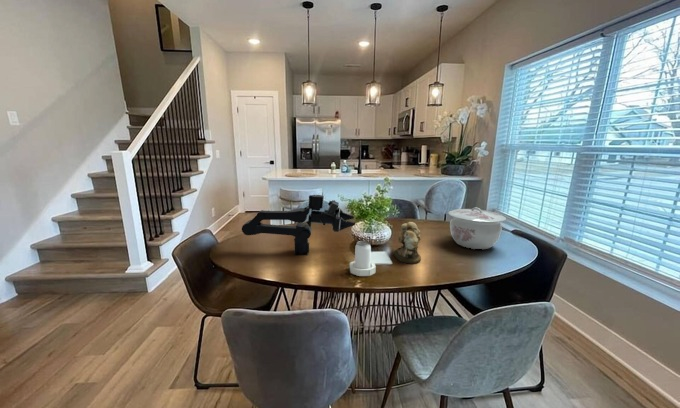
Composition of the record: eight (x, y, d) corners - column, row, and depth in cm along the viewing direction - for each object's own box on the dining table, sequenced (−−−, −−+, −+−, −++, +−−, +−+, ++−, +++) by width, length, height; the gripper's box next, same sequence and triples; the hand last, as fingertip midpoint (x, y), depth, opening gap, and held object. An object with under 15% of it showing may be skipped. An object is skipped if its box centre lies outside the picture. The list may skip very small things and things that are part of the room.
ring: (351, 276, 115) (351, 270, 114) (349, 265, 125) (349, 260, 125) (376, 275, 115) (377, 270, 115) (372, 265, 126) (372, 259, 125)
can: (365, 275, 116) (366, 247, 113) (351, 271, 119) (352, 244, 117) (372, 269, 121) (373, 242, 119) (359, 266, 125) (359, 239, 122)
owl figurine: (389, 250, 144) (391, 217, 141) (411, 250, 146) (414, 217, 142) (400, 264, 127) (402, 227, 123) (426, 264, 128) (429, 227, 125)
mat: (360, 264, 126) (360, 263, 126) (357, 253, 140) (357, 251, 140) (392, 264, 127) (392, 263, 127) (385, 252, 141) (385, 251, 140)
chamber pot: (501, 259, 134) (507, 216, 130) (440, 248, 148) (444, 209, 144) (502, 242, 158) (507, 205, 154) (450, 234, 171) (453, 200, 167)
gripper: (322, 206, 125) (357, 210, 126) (324, 196, 143) (355, 199, 143) (320, 230, 128) (354, 234, 129) (321, 217, 146) (352, 220, 147)
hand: (354, 220), depth 137 cm, fingers open, 9 cm apart
